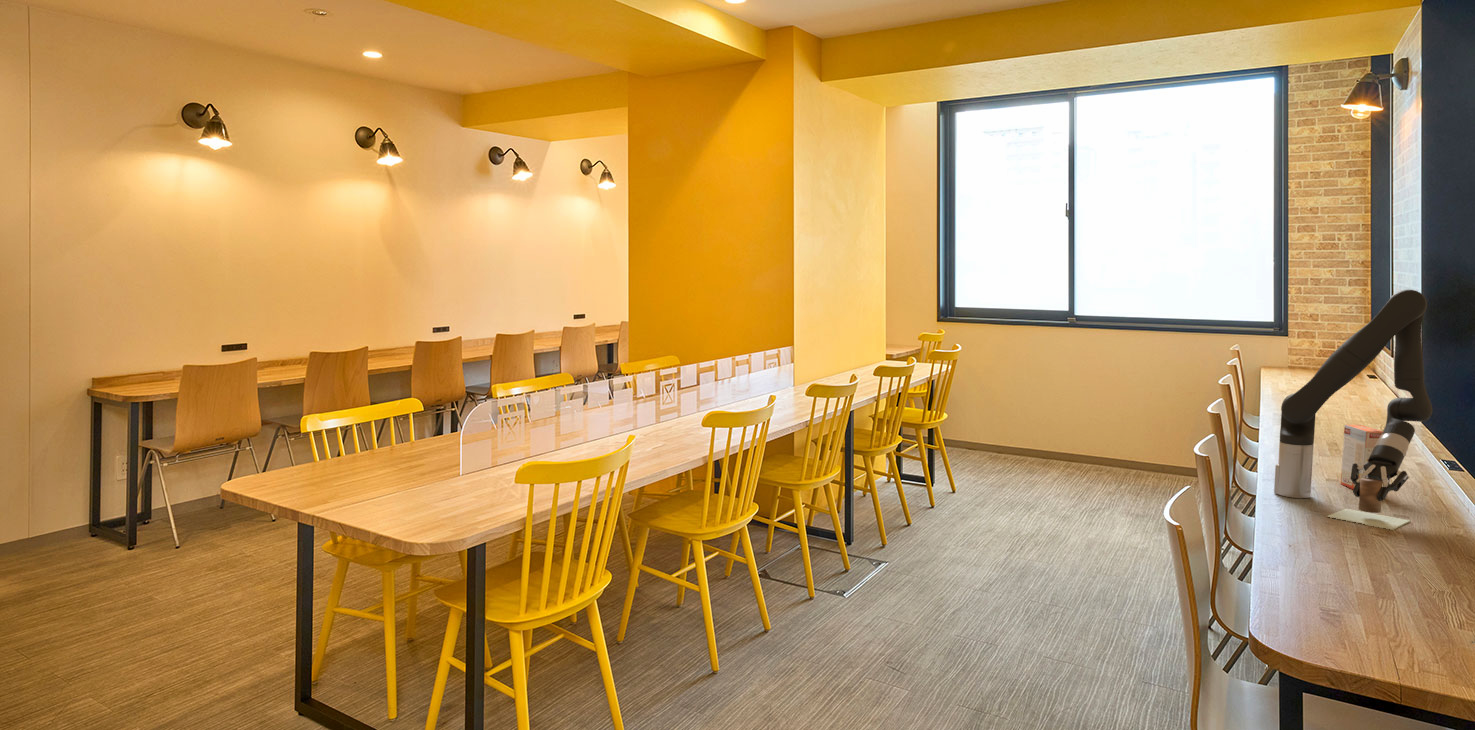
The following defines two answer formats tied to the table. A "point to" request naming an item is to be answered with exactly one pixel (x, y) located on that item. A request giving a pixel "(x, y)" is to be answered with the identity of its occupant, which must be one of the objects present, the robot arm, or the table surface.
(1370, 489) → the walnut cylinder
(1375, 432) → the cracker box
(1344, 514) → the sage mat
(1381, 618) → the table surface
